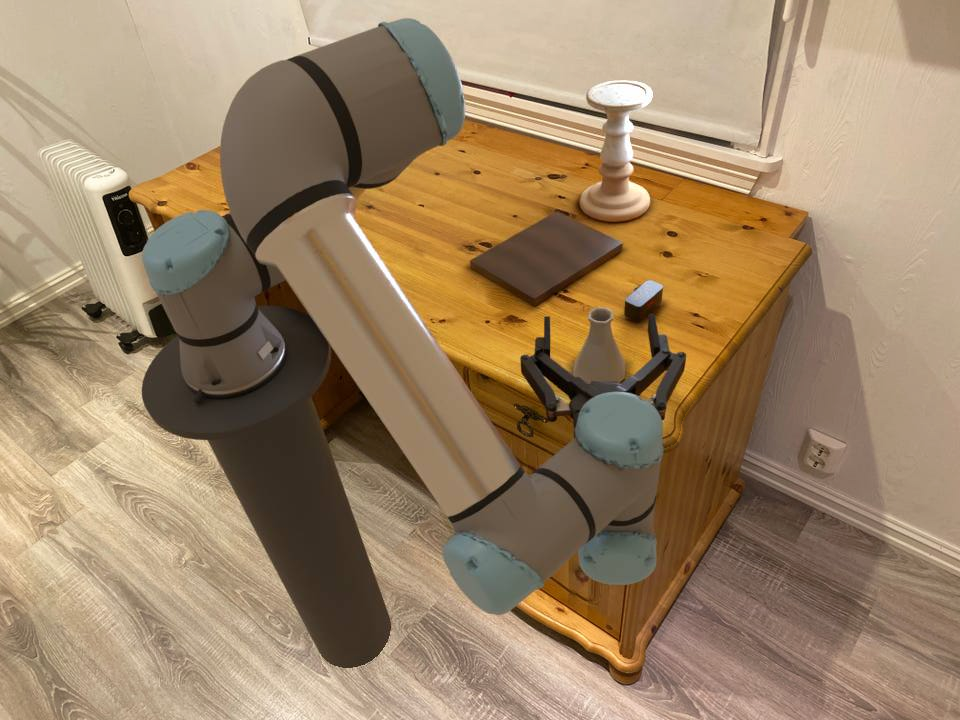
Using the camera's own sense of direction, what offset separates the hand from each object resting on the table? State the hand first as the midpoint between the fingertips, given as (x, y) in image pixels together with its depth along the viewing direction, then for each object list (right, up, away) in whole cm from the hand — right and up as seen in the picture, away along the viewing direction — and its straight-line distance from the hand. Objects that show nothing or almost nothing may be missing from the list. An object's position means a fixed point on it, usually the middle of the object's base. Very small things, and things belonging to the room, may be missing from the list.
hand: (598, 322), depth 94 cm
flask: (0, -7, +2) cm, 7 cm away
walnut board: (-5, +12, +22) cm, 25 cm away
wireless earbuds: (+8, +3, +11) cm, 14 cm away
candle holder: (+8, +23, +33) cm, 41 cm away
